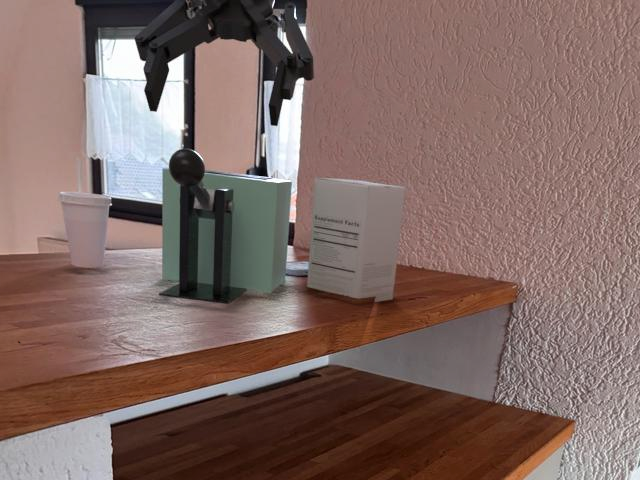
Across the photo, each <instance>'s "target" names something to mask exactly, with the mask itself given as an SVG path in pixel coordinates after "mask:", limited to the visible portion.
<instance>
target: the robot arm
mask: <svg viewBox="0 0 640 480" xmlns="http://www.w3.org/2000/svg"><path fill="white" fill-rule="evenodd" d="M274 5H275V0H174V1H173V2H172V3H171V4H170V5H169V6H167V8H165V10H164V11H161V13H160V14H158V16H157V17H156V18H154V19H153V20H152V21H150V23H148V24H147V25H146V26H145V27H144V28H143V29H142V30H140V31H139V32H138V33H137V34H136V35H135V36H134V42H135V46H136V50H137V53H138V57H139V60H140V61H142V62H144V65H143V70H142V71H143V74H144V77H145V80H146V83H145V86H144V89H143V92H144V95H145V98H146V103H147V105H148V108H149V111H150V112H155V113H157V112H158V109H159V106H160V102H161V99H162V96H163V93H164V89H165V86H166V83H167V79H168V76H169V73H170V67H169V63H171V62H172V61H174V60H176V59H178V58H179V57H181V56H183V55H184V54H186V53H188V52H190V51H192V50H193V49H195V48H196V47H198V46H201V44H204V43H205V44H207V45H209V44H211V43H212V42H214V41H216V40H218V39H220V40H226V41H229V40H234V41H238V42H243V43H247V41H251V42H252V44H254V46H255V47H256V48H257V49H258V50H259V51H260V50H261V51H262V52H263V53H264V54H265V55H266V57H267V58H268V59H269V60H270V62H271V63H272V64H273V65H274V66H275V67H276V71H275V75H274V80H273V83H272V87H271V93H270V97H269V103H268V112H269V113H268V114H269V122H270V126H274V127H278V125H279V121H280V116H281V111H282V106H283V102H284V101H285V100H287V101H291V100H292V99H293V98H294V93H295V89H296V85H297V82H298V80H300V79H304V80H305V81H308V82H309V81H310V82H311V81H313V80H314V78H315V66H314V65H315V64H314V56H313V54H312V52H311V49H310V47H309V45H308V43H307V41H306V37H305V36H304V34H303V32H302V29H301V27H300V25H299V23H298V21H297V14H296V4H295V3H294V2H286V3H285V4H284V8H274ZM274 23H276V24H277V25H278V27H279V29H280V31H281V33H285V38H286V42H287V43H288V46H289V48H290V49H289V48H288V47H287V46H286V45H285V44H284V43H283V41H282V40H281V39H280V38H279V36H278V35H277V34H276V33H275V32H274V31H273V29H272V28H271V26H272V25H273V24H274ZM290 50H291V51H290Z"/></svg>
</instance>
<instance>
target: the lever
mask: <svg viewBox="0 0 640 480" xmlns="http://www.w3.org/2000/svg"><path fill="white" fill-rule="evenodd" d="M168 168H169V171H170V174H171V176H172V178H173V179H174V180H175V182H177V183H178V184H180V185H181V186H185V187H190V188H191V190H192V191H193V193H194V195H195V200H194V207H193V208H194V210H195V211H196V213H197V215H198V216H199V218H206V219H215V201H216V191H215V190H212V189H206V188H205V186H204V184H203V182H202V179H203V177H204V174H205V170H206V165H205V162H204V159H203V158H202V157H201V155H200V154H199V153H198V152H197V151H195V150H193V149H191V148H181V149H178V150H176V151H175V152H174V153H173V154H172V155H171V156H170V158H169V161H168Z"/></svg>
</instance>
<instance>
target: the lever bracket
mask: <svg viewBox="0 0 640 480" xmlns="http://www.w3.org/2000/svg"><path fill="white" fill-rule="evenodd" d="M194 200H195V195H194V193H193V191H192V190H191V188H190V187H185V186H181V185H180V252H179V281H178V283H177V284H175V285H173V286H171V287H169V288H167V289H165V290H163V291H160V292H159V293H158V296H160V297H170V298H178V299H186V300H193V301H200V302H201V301H202V302H208V303H209V302H210V303H217V304H226V305H229V304H230V303H232V302H233V301H234V300H235V299H237V298H239V297H240V296H241V295H242V294H244V293H245V292H247V291H248V290H247V289H245V288H237V287H230V269H231V242H232V216H233V212H234V201H233V189H227V188H224V189H216V201H215V236H214V270H213V284H205V283H197V281H198V233H199V216H198V215H197V213H196V211H195V210H194V208H193V207H194Z"/></svg>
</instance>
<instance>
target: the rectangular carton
mask: <svg viewBox="0 0 640 480" xmlns="http://www.w3.org/2000/svg"><path fill="white" fill-rule="evenodd" d="M405 195H406V187H405V186H399V185H391V184H384V183H376V182H372V181H365V180H358V179H357V180H356V179H345V178H329V177H327V178H325V177H315V178H314V185H313V200H312V212H311V213H312V214H311V225H310V242H309V251H308V252H309V253H308V261H309V266H308V275H307V280H306V282H307V283H306V287H307V288H310V289H314V290H318V291H323V292H327V293H331V294H335V295H341V296H344V297H349V298H353V299H366V298H367V299H368V298H374V301H373V303H379V302H387V301H393V298H394V290H395V281H396V275H397V267H398V266H397V263H398V256H399V248H400V239H401V231H402V229H401V228H402V220H403V213H404V204H405V203H404V202H405Z"/></svg>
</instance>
